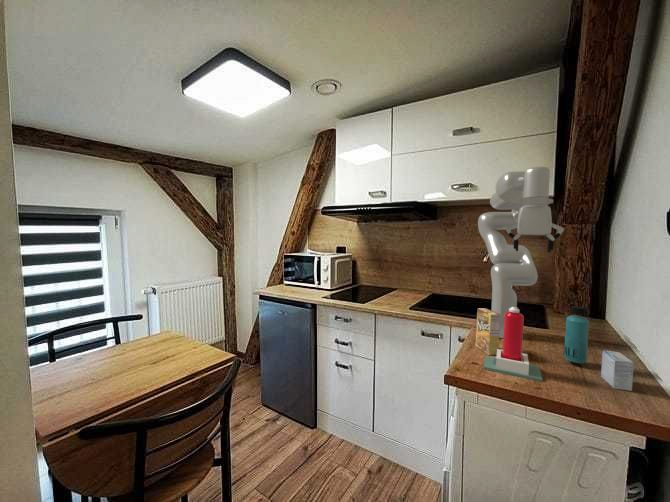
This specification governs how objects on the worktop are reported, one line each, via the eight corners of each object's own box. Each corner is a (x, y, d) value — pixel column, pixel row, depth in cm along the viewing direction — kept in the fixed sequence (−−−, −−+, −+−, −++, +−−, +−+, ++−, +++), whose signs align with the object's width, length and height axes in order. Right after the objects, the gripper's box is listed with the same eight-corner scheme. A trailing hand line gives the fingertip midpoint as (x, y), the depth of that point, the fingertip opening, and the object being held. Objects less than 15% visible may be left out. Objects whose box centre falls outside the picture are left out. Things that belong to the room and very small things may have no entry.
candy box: (474, 346, 118) (476, 308, 117) (484, 345, 119) (486, 307, 118) (488, 355, 109) (490, 314, 108) (499, 355, 110) (501, 314, 109)
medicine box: (632, 392, 85) (634, 362, 85) (612, 388, 87) (614, 359, 86) (618, 379, 93) (620, 352, 92) (600, 376, 94) (602, 349, 94)
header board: (485, 358, 107) (485, 346, 107) (539, 368, 99) (539, 356, 99) (483, 369, 98) (484, 356, 98) (542, 381, 90) (543, 367, 90)
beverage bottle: (587, 363, 103) (591, 306, 102) (586, 370, 99) (590, 310, 97) (563, 358, 108) (567, 303, 106) (561, 363, 103) (565, 306, 102)
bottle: (514, 371, 95) (517, 309, 94) (498, 364, 100) (501, 305, 99) (524, 368, 98) (528, 307, 96) (508, 361, 102) (511, 304, 101)
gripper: (563, 203, 104) (560, 252, 106) (506, 205, 113) (504, 250, 114) (567, 201, 98) (564, 253, 99) (506, 203, 107) (504, 251, 108)
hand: (532, 251), depth 107 cm, fingers open, 9 cm apart
